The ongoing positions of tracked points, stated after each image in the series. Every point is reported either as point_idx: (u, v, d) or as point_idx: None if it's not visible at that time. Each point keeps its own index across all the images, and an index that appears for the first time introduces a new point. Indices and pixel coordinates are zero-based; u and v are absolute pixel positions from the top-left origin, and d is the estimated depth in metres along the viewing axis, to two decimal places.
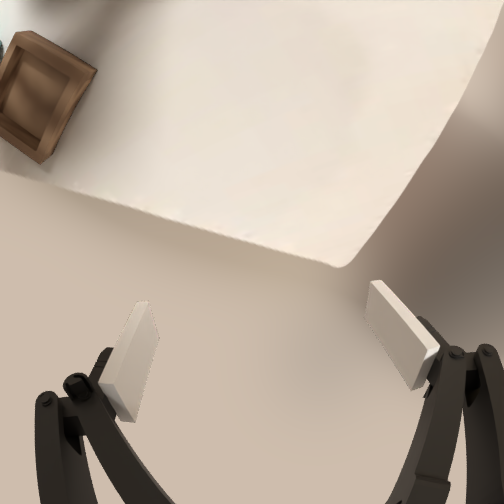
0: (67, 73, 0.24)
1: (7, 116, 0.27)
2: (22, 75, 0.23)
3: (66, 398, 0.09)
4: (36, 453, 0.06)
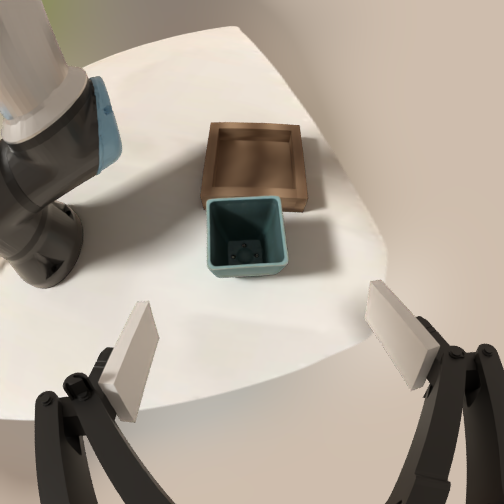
0: (216, 131, 0.44)
1: (292, 187, 0.43)
2: (245, 187, 0.43)
3: (66, 398, 0.09)
4: (36, 453, 0.06)
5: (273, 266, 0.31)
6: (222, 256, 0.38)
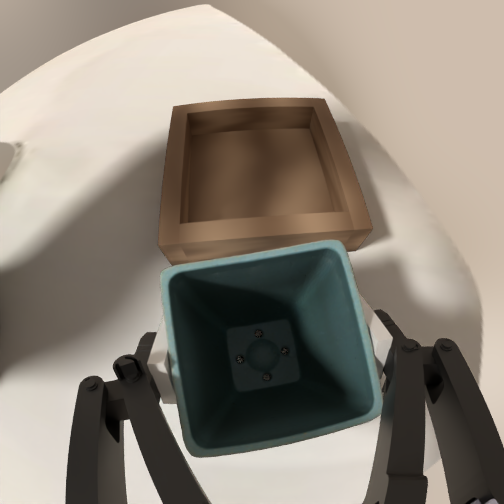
0: (183, 119, 0.24)
1: (331, 205, 0.23)
2: (246, 214, 0.23)
3: (111, 382, 0.10)
4: (71, 437, 0.07)
5: None
6: (218, 369, 0.17)
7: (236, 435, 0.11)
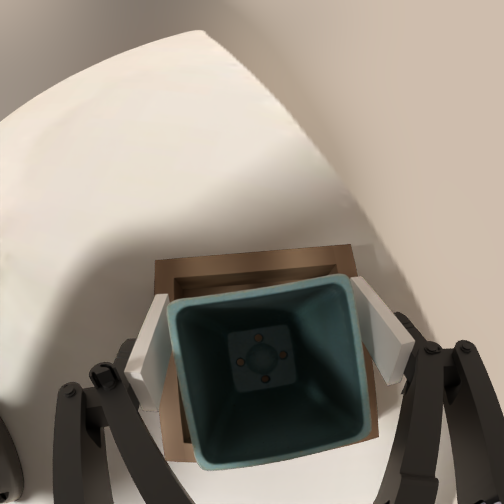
0: (170, 289, 0.20)
1: None
2: None
3: (89, 389, 0.10)
4: (54, 444, 0.06)
5: None
6: (220, 375, 0.18)
7: (240, 447, 0.12)
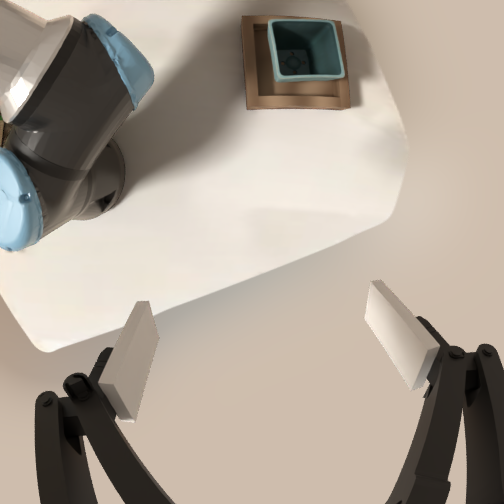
0: (251, 28, 0.31)
1: (332, 86, 0.37)
2: (287, 86, 0.37)
3: (66, 398, 0.09)
4: (36, 453, 0.06)
5: (332, 77, 0.30)
6: None
7: None
